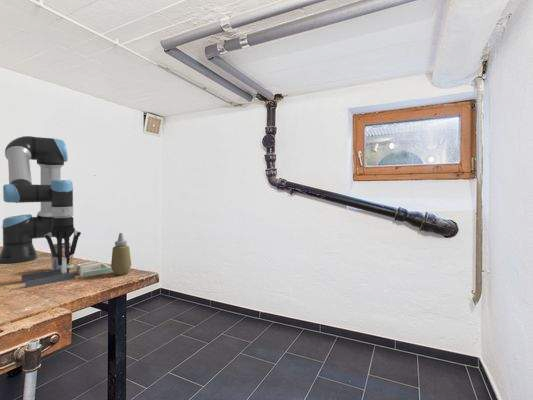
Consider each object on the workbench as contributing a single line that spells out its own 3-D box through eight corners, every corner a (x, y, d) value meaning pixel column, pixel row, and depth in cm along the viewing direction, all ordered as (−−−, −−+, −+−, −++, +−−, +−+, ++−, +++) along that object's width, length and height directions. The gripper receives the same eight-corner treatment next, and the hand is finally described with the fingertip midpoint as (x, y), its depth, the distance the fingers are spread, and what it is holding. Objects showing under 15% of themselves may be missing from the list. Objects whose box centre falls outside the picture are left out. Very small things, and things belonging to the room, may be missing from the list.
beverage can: (64, 266, 139) (64, 241, 139) (79, 267, 138) (79, 242, 137) (46, 271, 130) (46, 245, 130) (62, 272, 129) (62, 246, 128)
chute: (21, 281, 116) (21, 275, 116) (68, 273, 128) (68, 267, 128) (25, 287, 109) (25, 281, 109) (75, 278, 121) (75, 272, 120)
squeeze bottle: (127, 270, 133) (127, 231, 133) (134, 273, 128) (133, 233, 127) (108, 273, 128) (107, 233, 127) (114, 277, 122) (113, 235, 121)
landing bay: (75, 271, 131) (75, 267, 131) (103, 266, 139) (102, 262, 139) (83, 277, 122) (83, 272, 122) (112, 271, 130) (112, 267, 130)
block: (76, 273, 129) (76, 264, 128) (96, 269, 134) (96, 261, 134) (80, 276, 125) (80, 267, 124) (101, 272, 130) (101, 263, 130)
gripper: (45, 218, 114) (46, 277, 115) (83, 216, 124) (84, 270, 124) (41, 217, 119) (42, 273, 120) (78, 215, 129) (79, 267, 130)
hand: (63, 272), depth 122 cm, fingers closed
